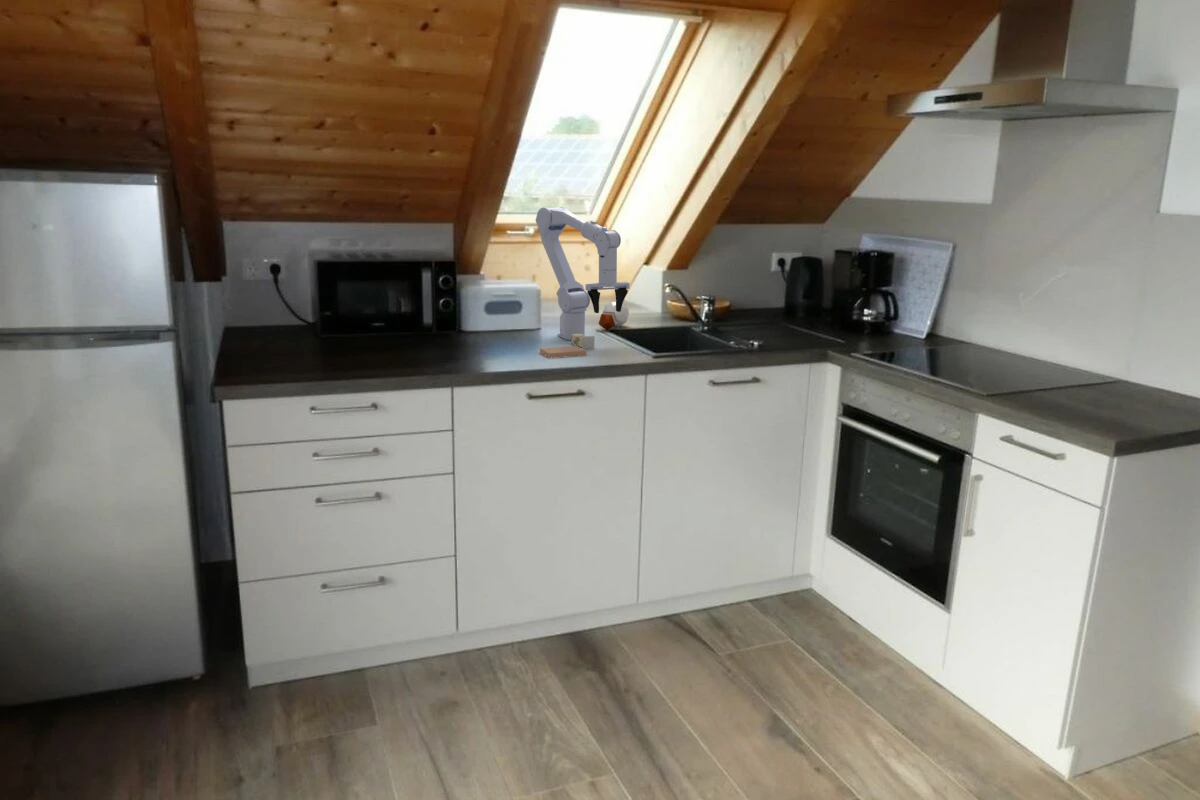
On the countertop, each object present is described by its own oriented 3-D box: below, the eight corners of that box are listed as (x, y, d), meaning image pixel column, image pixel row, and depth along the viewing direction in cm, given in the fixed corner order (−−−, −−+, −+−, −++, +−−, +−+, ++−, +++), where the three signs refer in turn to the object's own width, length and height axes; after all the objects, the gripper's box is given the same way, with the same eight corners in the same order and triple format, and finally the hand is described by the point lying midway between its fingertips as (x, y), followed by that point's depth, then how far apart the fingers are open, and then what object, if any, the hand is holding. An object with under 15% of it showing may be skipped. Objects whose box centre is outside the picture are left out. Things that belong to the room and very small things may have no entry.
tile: (539, 348, 268) (549, 353, 261) (575, 345, 273) (586, 350, 266) (539, 354, 269) (549, 360, 262) (575, 351, 274) (586, 357, 267)
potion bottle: (623, 328, 322) (610, 339, 308) (602, 311, 322) (589, 322, 309) (637, 309, 317) (625, 320, 304) (616, 292, 318) (603, 302, 304)
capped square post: (570, 343, 285) (570, 331, 284) (581, 342, 286) (581, 330, 285) (582, 349, 275) (582, 336, 274) (594, 348, 277) (594, 336, 276)
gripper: (591, 271, 272) (591, 315, 275) (633, 269, 277) (633, 312, 281) (582, 269, 278) (582, 312, 281) (624, 267, 284) (624, 309, 287)
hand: (607, 312), depth 282 cm, fingers open, 7 cm apart
